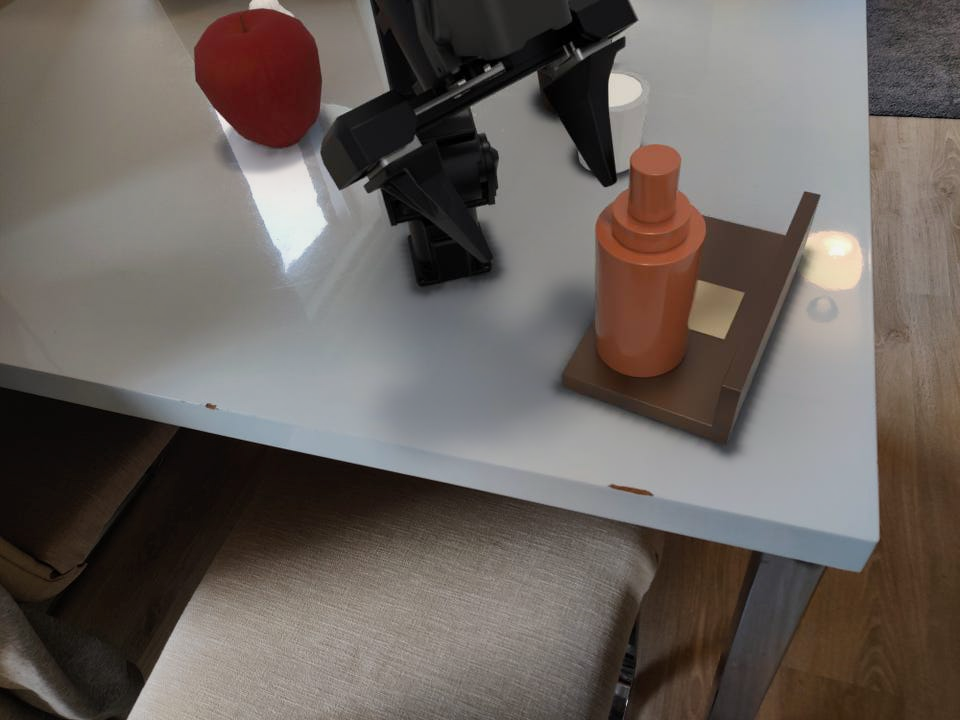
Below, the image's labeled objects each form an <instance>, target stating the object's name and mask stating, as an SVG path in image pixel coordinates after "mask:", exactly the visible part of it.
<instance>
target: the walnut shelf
mask: <svg viewBox="0 0 960 720" xmlns="http://www.w3.org/2000/svg"><path fill="white" fill-rule="evenodd" d="M821 197H822V195H821V194H820V193H814V192H811V191H806V190H805V191H803V193H802V196H801V197H800V200H799V203H798V205H797V207H796V209H795V211H794V214H793V217H792V219H791V221H790V224H789V226H788V229H787V231H786V232H785V233H786V234H782V233H779V232H774V231H770V230H766V229H762V228H759V227H758V228H757V227H753V226H749V225H746V224H745V225H744V224H741V223H737V222H732V221H730V220H724V219H720V218H717V217H713V216H708V215H703V214H701V215H702V217H703V219H704V221H705V225H706V235H705V241H704V247H703V254H702V260H701V266H700V273H699V279H698V285H697V291H696V298H695V304H694V310H693V317H692V323H691V329H690V335H689V342H688V348H687V352H686V354H685V356H684V358H683V359H682V361H681V362H680V363H679V364H678V365H677V366H676V367H675V368H673V369H672V370H670V371H668V372H666V373H664V374H661V375H658V376H653V377H632V376H628V375H624V374H622V373H619V372H617V371H615V370H613V369H612V368H610V367H609V366H608V365H607V364H605V362H604V361H603V360H602V359H601V358H600V356H599V354H598V352H597V350H596V347H595V317H594V318H593V320H592V322H591V323H590V325H589V326H588V329H587V330H586V332H585V334H584V336H583V337H582V339H581V341H580V342H579V344H578V346H577V348H576V349H575V351H574V353H573V354H572V356H571V358H570V359H569V361H568V363H567V365H566V366H565V368H564V370H563V371H562V372H561V382H562V383H561V387H563V388H566V389H568V390H571V391H574V392H577V393H579V394H583V395H585V396H589V397H591V398H593V399H596V400H598V401H602V402H605V403H607V404H610V405H613V406H615V407H618V408H622V409H624V410H627V411H630V412H632V413H635V414H639V415H641V416H644V417H647V418H649V419H652V420H655V421H658V422H661V423H663V424H666V425H669V426H671V427H674V428H677V429H680V430H683V431H685V432H689V433H691V434H695V435H697V436H700V437H702V438H706V439H708V440H711V441H713V442H716V443H719V444H722V445H725V446H727V445H728V443H729V440H730V438H731V436H732V433H733V430H734V428H735V426H736V422H737V420H738V417H739V416H740V412H741V410H742V407H743V405H744V402H745V400H746V397H747V395H748V393H749V390H750V388H751V386H752V383H753V380H754V377H755V375H756V372H757V370H758V368H759V365H760V362H761V360H762V357H763V355H764V352H765V350H766V347H767V344H768V342H769V339H770V337H771V335H772V332H773V331H774V327H775V324H776V322H777V320H778V317H779V315H780V313H781V310H782V307H783V305H784V302H785V299H786V297H787V295H788V292H789V289H790V287H791V285H792V282H793V279H794V277H795V274H796V272H797V269H798V267H799V264H800V262H801V259H802V257H803V254H804V251H805V247H806V245H807V241H808V238H809V235H810V231H811V230H812V229H811V228H812V225H813V222H814V219H815V216H816V213H817V209H818V206H819V202H820V200H821Z"/></svg>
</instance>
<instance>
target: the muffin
mask: <svg viewBox="0 0 960 720" xmlns="http://www.w3.org/2000/svg"><path fill="white" fill-rule="evenodd" d="M259 8H265V9H273V10H276V11H279V12H282V13H285V14H287V15H290V16H292V17H294V18H296V17H295V15H294V14H293V12H291V11H290V10H287V9H285V8H284V7H283V6H282V5H281V4H280V2H279V0H251V1H250V2H249V4H248V10H251V9H259Z"/></svg>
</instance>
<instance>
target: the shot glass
mask: <svg viewBox="0 0 960 720" xmlns="http://www.w3.org/2000/svg"><path fill="white" fill-rule="evenodd" d="M650 93H651V88H650V85H649V82H648V81H647V80H646V79H645V78H644V77H643V76H641V75H640V74H637V73H635V72H632V71H629V70H625V69H624V70H623V69H614V68H612V70H611V74H610V77H609V114H610V123H611V132H612V140H613V149H614V157H615V166H616V174H620V173H623V172H625V171H628V170H629V167H630V157H631V155H632V153H633V152H634V151H635V150H636V149H638V148H640V147H641V145H642V139H643V133H644V126H645V122H646V116H647V110H648V105H649V99H650ZM577 154H578V155H577V156H578V160H579V164H580V165H582V166H583V168H584V169H586V170H588V171H590V172H592V171H591V170H590V169H589V167H588V166H587V164H586V162H585V161H584V159H583V157H582V156H581V154H580V152H579V151H578V150H577Z"/></svg>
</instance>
